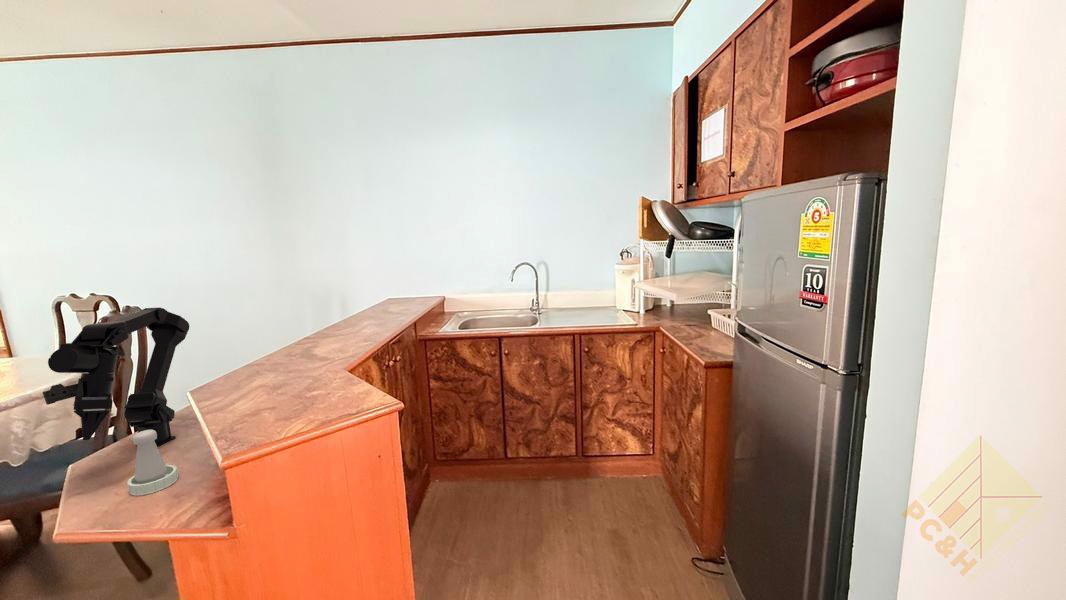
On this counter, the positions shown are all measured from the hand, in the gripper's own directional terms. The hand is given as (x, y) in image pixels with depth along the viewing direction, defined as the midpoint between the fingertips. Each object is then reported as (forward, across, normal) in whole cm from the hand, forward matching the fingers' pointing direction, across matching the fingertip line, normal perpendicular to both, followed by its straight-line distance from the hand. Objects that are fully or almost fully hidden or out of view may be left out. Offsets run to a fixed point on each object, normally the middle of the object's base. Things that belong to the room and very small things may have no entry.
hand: (85, 437), depth 102 cm
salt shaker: (+11, +12, +13) cm, 20 cm away
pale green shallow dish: (+11, +12, +13) cm, 21 cm away
